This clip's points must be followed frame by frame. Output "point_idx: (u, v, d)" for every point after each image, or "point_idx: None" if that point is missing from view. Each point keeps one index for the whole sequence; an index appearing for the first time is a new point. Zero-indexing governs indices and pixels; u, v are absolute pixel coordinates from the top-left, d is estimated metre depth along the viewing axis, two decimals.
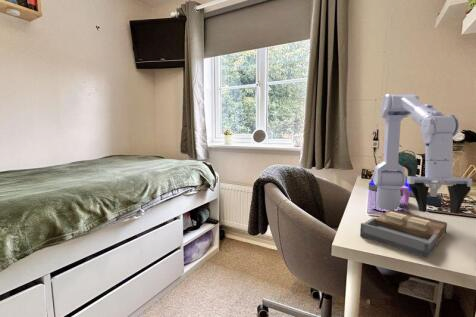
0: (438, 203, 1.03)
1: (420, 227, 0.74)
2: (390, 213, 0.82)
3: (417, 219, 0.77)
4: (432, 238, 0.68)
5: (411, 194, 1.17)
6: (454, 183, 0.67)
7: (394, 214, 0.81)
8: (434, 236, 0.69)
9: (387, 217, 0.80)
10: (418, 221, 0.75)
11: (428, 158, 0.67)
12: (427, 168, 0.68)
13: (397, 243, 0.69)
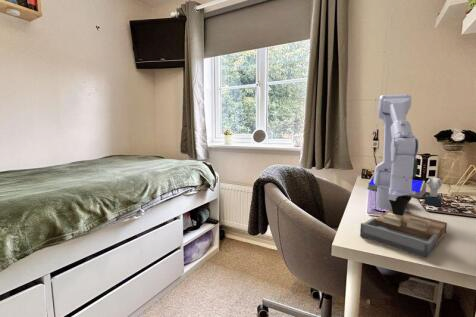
0: (438, 203, 1.03)
1: (420, 227, 0.74)
2: (388, 214, 0.81)
3: (417, 219, 0.77)
4: (432, 238, 0.68)
5: (410, 194, 1.17)
6: None
7: (392, 215, 0.80)
8: (434, 236, 0.69)
9: (385, 218, 0.79)
10: (418, 221, 0.75)
11: (391, 174, 0.80)
12: (398, 184, 0.78)
13: (397, 243, 0.69)
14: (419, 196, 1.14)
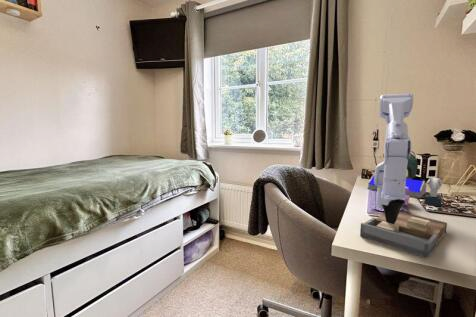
0: (438, 203, 1.03)
1: (420, 227, 0.74)
2: (381, 223, 0.77)
3: (417, 219, 0.77)
4: (432, 238, 0.68)
5: (410, 194, 1.17)
6: None
7: (385, 225, 0.76)
8: (434, 236, 0.69)
9: None
10: (418, 221, 0.75)
11: (384, 176, 0.76)
12: (391, 187, 0.74)
13: (397, 243, 0.69)
14: (419, 196, 1.14)
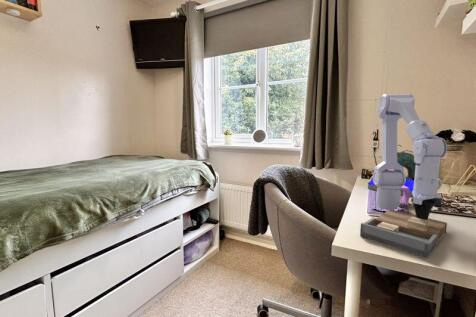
0: (438, 203, 1.03)
1: (420, 227, 0.74)
2: (381, 224, 0.77)
3: (417, 219, 0.77)
4: (432, 238, 0.68)
5: None
6: None
7: (385, 225, 0.76)
8: (434, 236, 0.69)
9: None
10: (418, 221, 0.75)
11: (417, 177, 0.76)
12: (423, 187, 0.74)
13: (397, 243, 0.69)
14: None
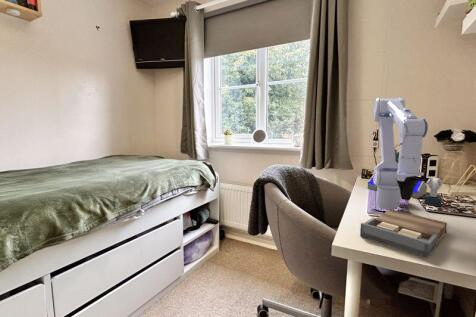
0: (438, 203, 1.03)
1: None
2: (381, 224, 0.77)
3: (408, 231, 0.72)
4: (432, 238, 0.68)
5: None
6: None
7: (385, 225, 0.76)
8: (434, 236, 0.69)
9: None
10: (409, 233, 0.70)
11: (400, 155, 0.80)
12: (407, 165, 0.78)
13: (397, 243, 0.69)
14: (416, 196, 1.14)
